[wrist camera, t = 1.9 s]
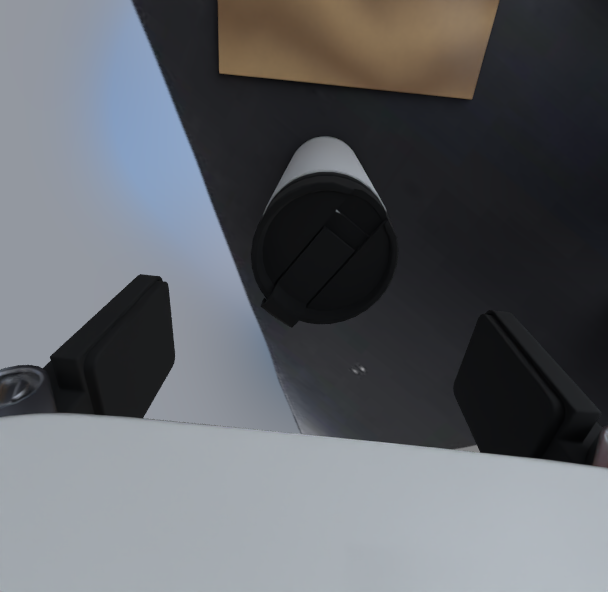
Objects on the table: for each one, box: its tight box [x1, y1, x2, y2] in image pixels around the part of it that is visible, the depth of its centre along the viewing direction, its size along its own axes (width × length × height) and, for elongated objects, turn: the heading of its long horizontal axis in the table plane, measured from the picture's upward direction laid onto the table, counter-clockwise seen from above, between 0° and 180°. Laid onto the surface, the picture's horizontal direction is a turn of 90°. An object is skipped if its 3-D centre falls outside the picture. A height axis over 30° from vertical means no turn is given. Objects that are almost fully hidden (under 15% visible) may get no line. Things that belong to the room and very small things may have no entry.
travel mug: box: [251, 136, 398, 328], centre depth 23 cm, size 6×7×20 cm
